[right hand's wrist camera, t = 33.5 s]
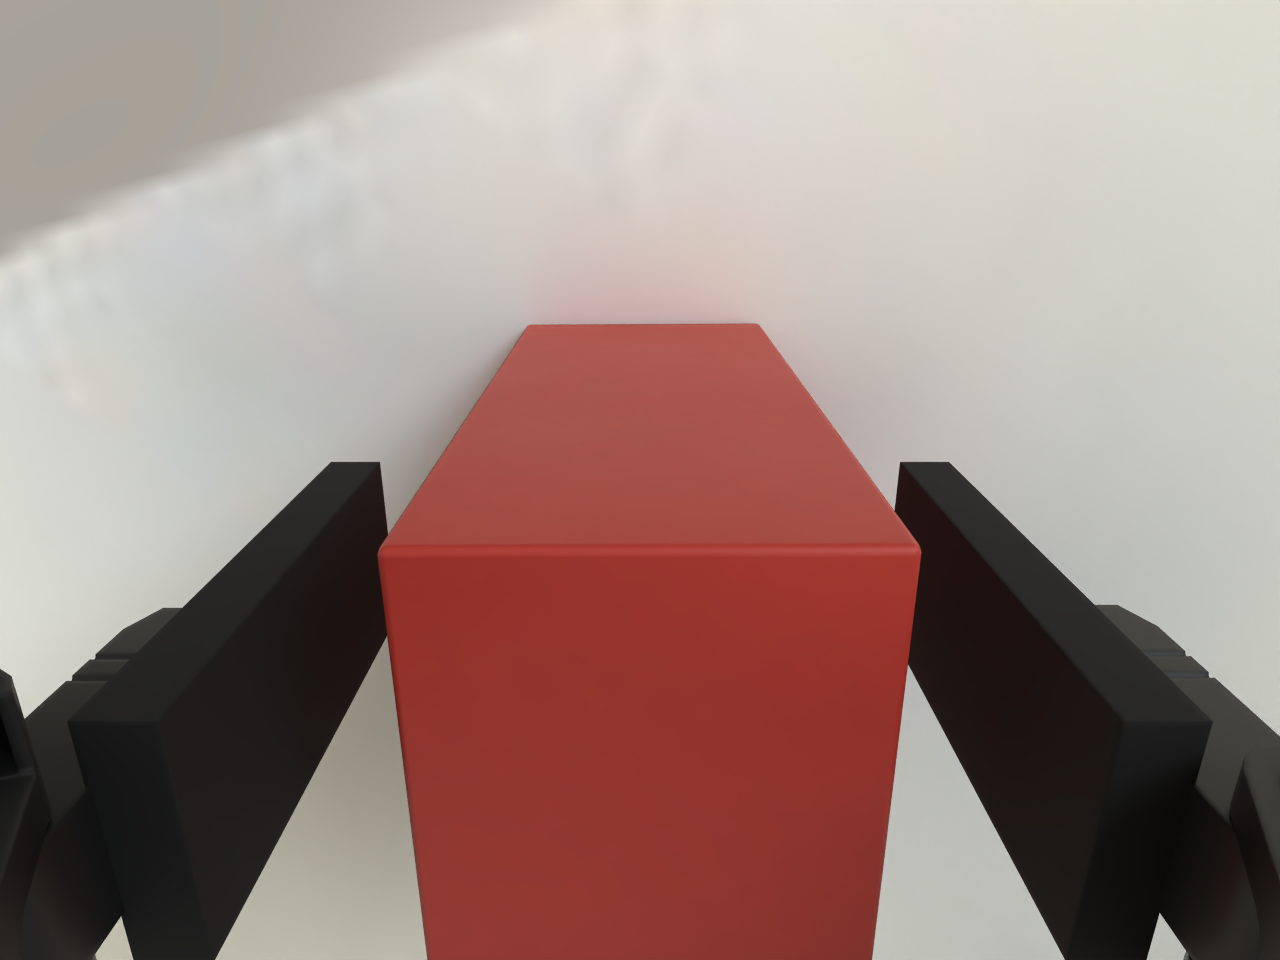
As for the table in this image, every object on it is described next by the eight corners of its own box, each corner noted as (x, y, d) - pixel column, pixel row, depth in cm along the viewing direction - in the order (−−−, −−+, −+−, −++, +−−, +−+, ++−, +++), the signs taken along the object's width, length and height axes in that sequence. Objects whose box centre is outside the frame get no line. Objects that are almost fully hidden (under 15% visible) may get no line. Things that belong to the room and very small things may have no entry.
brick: (749, 558, 20) (870, 995, 9) (538, 559, 20) (429, 997, 9) (760, 323, 18) (925, 546, 7) (526, 323, 18) (372, 548, 7)
